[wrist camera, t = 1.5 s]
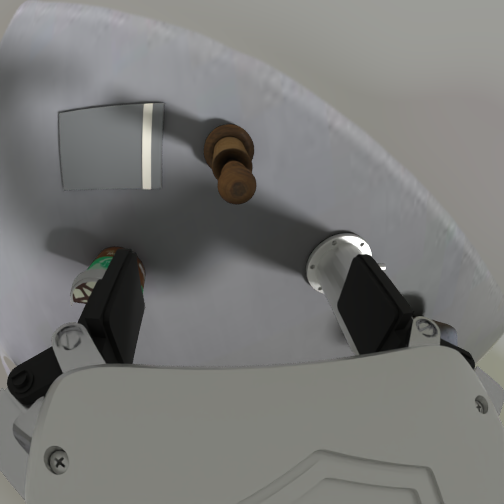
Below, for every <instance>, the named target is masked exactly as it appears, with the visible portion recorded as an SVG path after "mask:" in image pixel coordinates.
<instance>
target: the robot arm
mask: <svg viewBox="0 0 504 504" xmlns="http://www.w3.org/2000/svg"><path fill="white" fill-rule="evenodd" d="M385 269H386V266H385V264H383V263H378V264H377V263H376V261H375V260H374V259H373V258H372V254H371V250H370V247H369V245H368V244H367V243H366V241H365V240H364V239H363V238H361V237H360V236H358V235H355V234H351V233H343V234H337V235H334V236H332V237H330V238H328V239H326V240H324V241H323V242H322V243H320V244H319V245H318V246H317V247H316V248H315V249H314V251H313V252H312V253H311V255H310V257H309V259H308V262H307V265H306V276H307V279H308V281H309V283H310V285H311V286H312V287H313V288H314V289H315V290H316V291H318V292H320V293H323V294H325V296H326V298H327V300H328V302H329V304H330V306H331V308H332V310H333V312H334V315H335V317H336V319H337V321H338V323H339V325H340V327H341V329H342V332H343V334H344V336H345V338H346V340H347V342H348V344H349V347H350V349H351V350H352V352H353V353H354V354H355V355H356V356H351V357H344V358H336V359H328V360H319V361H310V362H299V363H287V364H273V365H255V366H164V365H144V364H132V363H133V358H134V353H135V349H136V344H137V339H138V335H139V330H140V326H141V322H142V317H143V313H144V307H145V305H144V298H143V293H142V287H141V281H140V275H139V269H138V262H137V256H136V253H132V250H131V249H117V250H116V252H115V254H114V256H113V258H112V260H111V262H110V264H109V266H108V268H107V270H106V272H105V274H104V276H103V278H102V279H99V280H98V281H97V282H96V284H95V286H94V288H93V290H92V292H91V294H90V297H89V299H88V301H87V303H86V305H85V307H84V310H83V312H82V314H81V316H80V319H79V321H78V323H76V322H70V323H66V324H63V325H61V326H60V327H58V328H57V329H56V330H55V332H54V333H53V335H52V339H51V343H52V347H50V348H48V349H47V350H45V351H43V352H41V353H40V354H38V355H36V356H34V357H32V358H31V359H29V360H27V361H25V362H24V363H22V364H20V365H18V366H17V367H15V368H14V369H13V370H12V371H11V372H10V374H9V376H8V380H7V386H8V387H7V389H5V390H4V389H3V388H2V389H1V390H0V471H1V472H2V473H3V475H4V476H5V477H6V478H7V480H8V481H9V482H10V484H11V485H12V486H13V487H14V488H15V490H16V491H17V492H18V493H19V494H20V495H21V497H22V498H23V499H24V500H25V504H504V427H503V425H502V422H501V420H500V418H499V415H500V412H501V409H502V405H503V402H504V390H503V388H502V387H501V386H500V385H499V384H498V383H497V382H496V381H495V380H493V379H492V378H491V377H490V376H489V375H488V374H486V373H485V372H484V371H483V370H481V369H480V368H479V367H476V368H475V362H474V360H473V358H472V356H471V354H470V353H469V352H467V351H465V350H463V349H461V348H459V347H457V346H455V345H453V344H451V343H449V342H447V341H445V340H443V339H441V338H440V329H439V327H438V326H437V324H436V323H435V322H434V321H432V320H431V319H429V318H427V317H423V316H419V317H416V318H415V319H413V318H412V315H413V313H414V311H413V310H412V309H411V307H410V306H409V304H408V303H407V302H406V300H405V299H404V298H403V296H402V295H401V294H400V292H399V291H398V290H397V288H396V287H395V286H394V284H393V283H392V282H391V280H390V279H389V278H388V277H387V275H386V274H385V273H384V271H385Z"/></svg>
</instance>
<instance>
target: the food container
mask: <svg viewBox="0 0 504 504" xmlns="http://www.w3.org/2000/svg"><path fill="white" fill-rule="evenodd" d="M117 249H125V248H122V247H109V248H106V249H104V250H103V251H102V252H101V253H100V254H99V255H98V256H97V258H96V259H95V260H94V261H93V263H92V264H91V265H90V267H89V268H88V269H87V271H84V272H82V273H80V274H79V275H78V276H77V277H76V278H75V280H74V282H73V285H72V289H71V293H70V303H71V306H72V305H73V303H74V302H77V303H84V304H86V303H87V301H88V299H89V297H90V294H91V292H92V290H93V288H94V286H95V284H96V282H97V281H98V280H99V279H102V278H103V276H104V274H105V272H106V270H107V268H108V266H109V264H110V262H111V260H112V258H113V256H114V254H115V252H116V250H117ZM137 262H138V269H139V275H140V281H141V287H142V293H143V288H144V281H145V269H144V266H143V264H142V262H141V261H140V259H139V258H138V257H137ZM144 305H145V303H144ZM145 308H146V307H144V310H145Z"/></svg>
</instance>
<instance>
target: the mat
mask: <svg viewBox="0 0 504 504" xmlns="http://www.w3.org/2000/svg"><path fill="white" fill-rule="evenodd" d="M163 118H164V103H146V104H129V105H116V106H106V107H97V108H89V109H82V110H75V111H69V112H63V113H59V135H60V155H61V168H62V178H63V187H64V191H68V190H92V189H161V188H162V140H163Z"/></svg>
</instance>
